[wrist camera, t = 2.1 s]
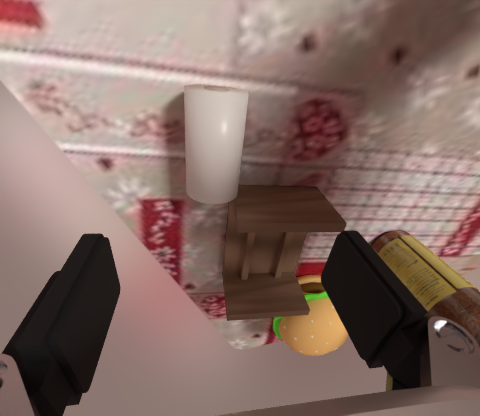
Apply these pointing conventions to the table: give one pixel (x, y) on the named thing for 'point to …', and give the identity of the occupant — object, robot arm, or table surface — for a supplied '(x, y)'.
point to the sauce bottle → (431, 280)
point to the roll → (213, 141)
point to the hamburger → (312, 322)
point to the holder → (271, 248)
